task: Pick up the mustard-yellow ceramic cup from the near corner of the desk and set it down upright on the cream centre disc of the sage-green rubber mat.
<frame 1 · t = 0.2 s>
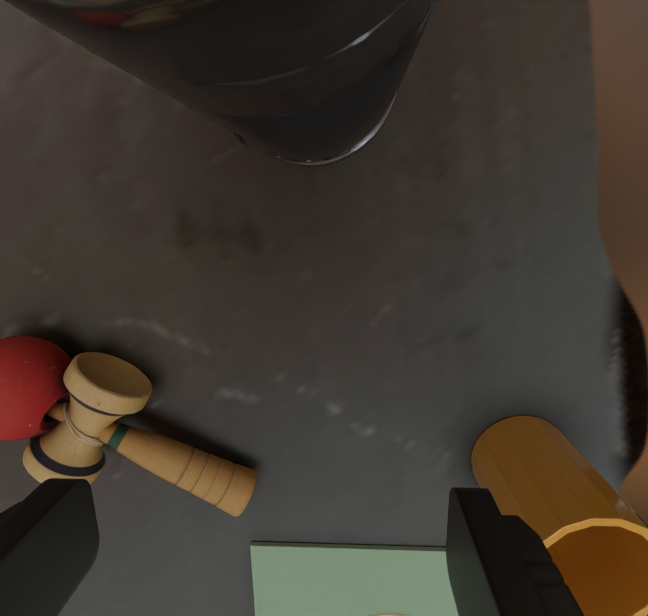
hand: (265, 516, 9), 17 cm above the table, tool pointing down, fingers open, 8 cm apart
kendama: (139, 411, 29), on the table
cup: (519, 458, 28), on the table
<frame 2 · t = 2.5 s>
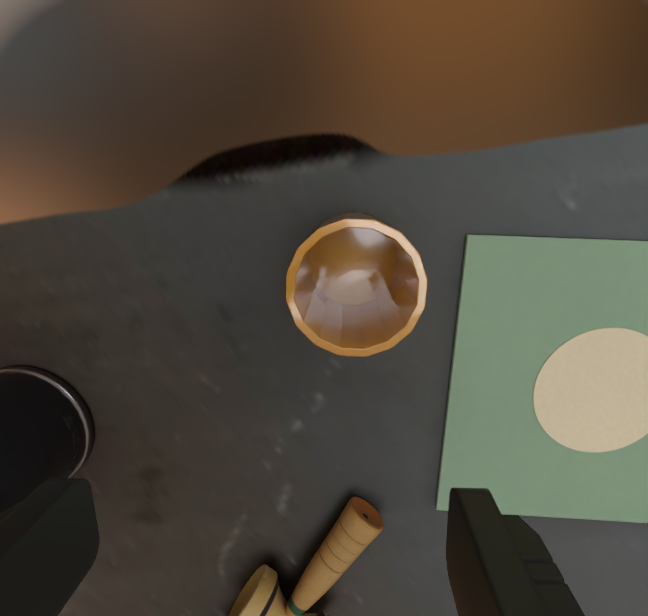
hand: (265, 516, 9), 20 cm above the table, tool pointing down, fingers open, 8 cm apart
kendama: (299, 572, 34), on the table
mat: (598, 389, 29), on the table
cup: (352, 261, 28), on the table
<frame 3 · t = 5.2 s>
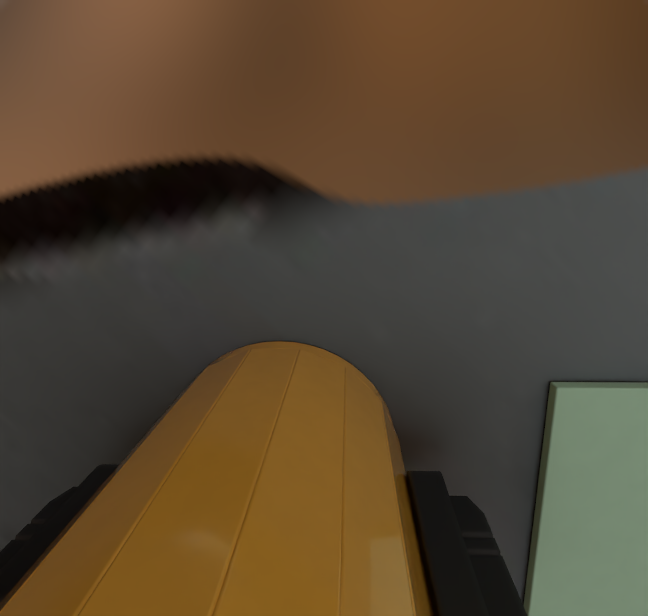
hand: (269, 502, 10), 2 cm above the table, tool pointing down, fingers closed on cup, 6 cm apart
cup: (284, 445, 12), on the table, touching gripper
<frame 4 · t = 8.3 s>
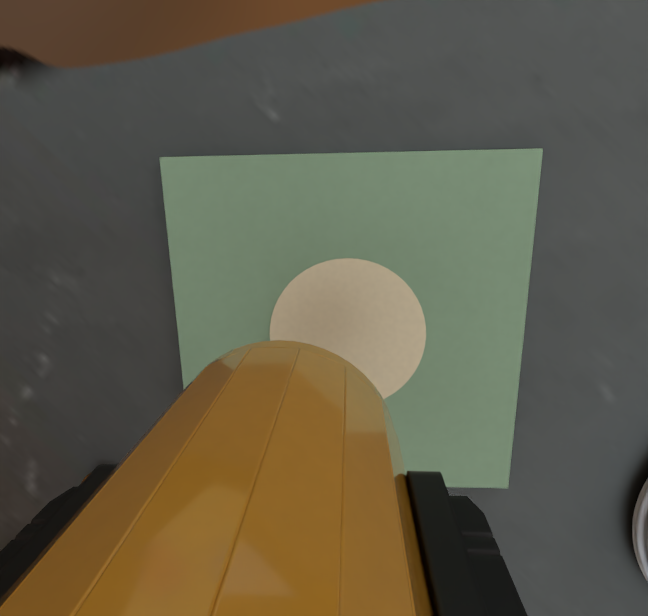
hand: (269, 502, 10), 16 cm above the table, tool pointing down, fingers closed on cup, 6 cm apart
mat: (347, 333, 25), on the table
cup: (284, 444, 12), point 13 cm above the table, touching gripper
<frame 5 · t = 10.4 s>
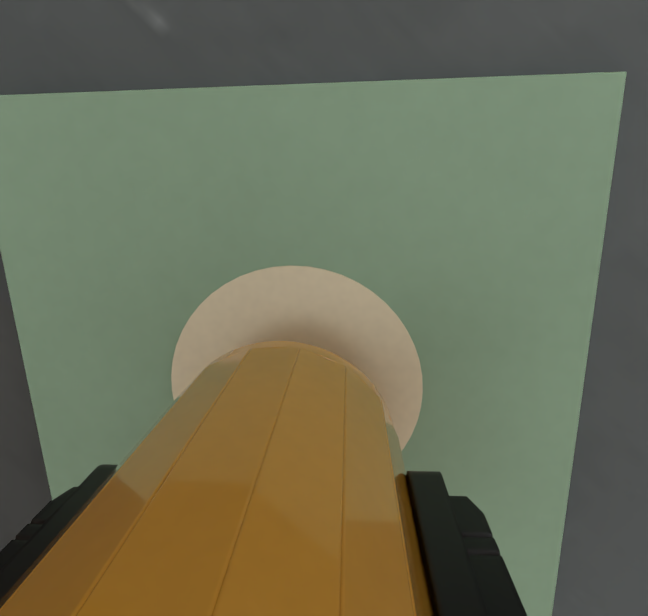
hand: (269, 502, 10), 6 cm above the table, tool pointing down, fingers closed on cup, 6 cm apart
mat: (296, 385, 16), on the table
cup: (284, 445, 12), point 4 cm above the table, touching gripper
when the fingers open (3 cm above the table, at t = 11.8 s): cup stays where it is, resting on mat.
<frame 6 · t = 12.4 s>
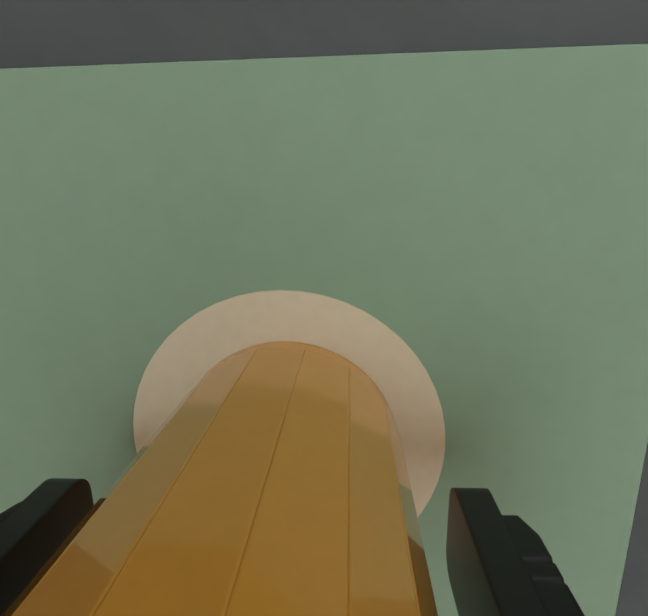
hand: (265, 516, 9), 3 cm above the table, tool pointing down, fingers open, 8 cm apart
mat: (288, 434, 13), on the table
cup: (288, 443, 12), resting on mat
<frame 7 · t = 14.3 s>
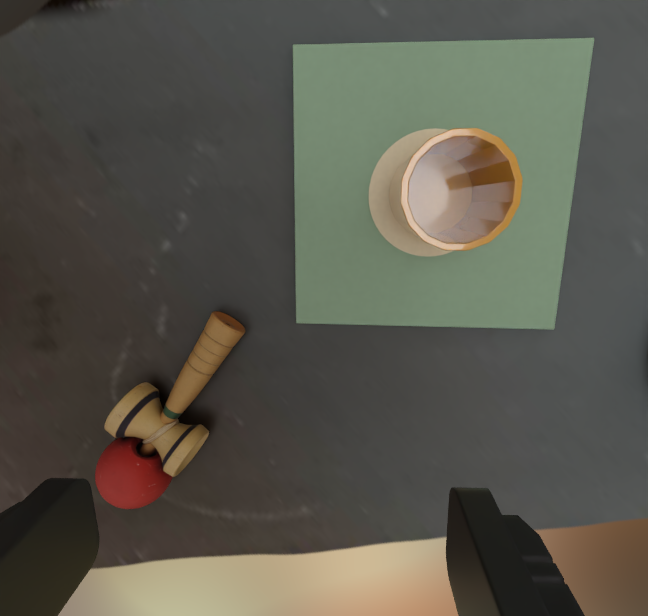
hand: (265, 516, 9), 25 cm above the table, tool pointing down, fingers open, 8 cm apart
kendama: (183, 396, 37), on the table
mat: (429, 194, 32), on the table
cup: (431, 194, 31), resting on mat
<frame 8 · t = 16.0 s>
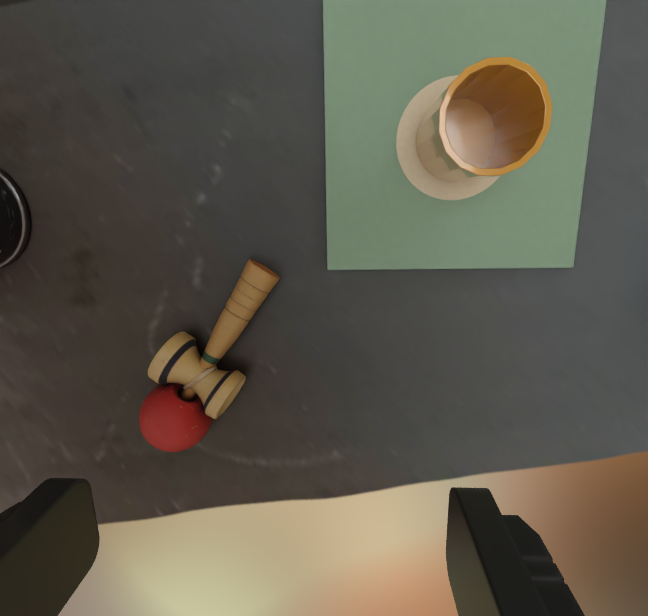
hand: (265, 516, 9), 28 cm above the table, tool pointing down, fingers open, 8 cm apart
kendama: (218, 346, 39), on the table
mat: (453, 140, 33), on the table
cup: (456, 139, 33), resting on mat
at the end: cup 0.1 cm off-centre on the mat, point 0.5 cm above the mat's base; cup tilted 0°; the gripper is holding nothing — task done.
